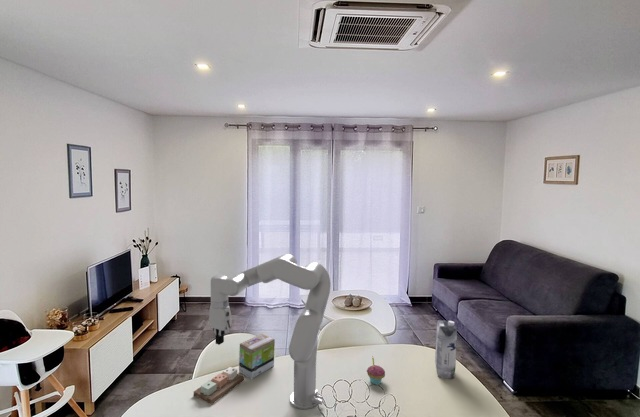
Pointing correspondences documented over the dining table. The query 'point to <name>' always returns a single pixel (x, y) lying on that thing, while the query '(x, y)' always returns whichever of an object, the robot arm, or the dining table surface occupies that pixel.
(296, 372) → the robot arm
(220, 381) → the pink three-dot die face
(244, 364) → the tea box
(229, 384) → the tile board
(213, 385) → the pale grey square block
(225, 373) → the two-pip tile
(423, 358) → the dining table surface
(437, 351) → the juice carton
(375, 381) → the cupcake
